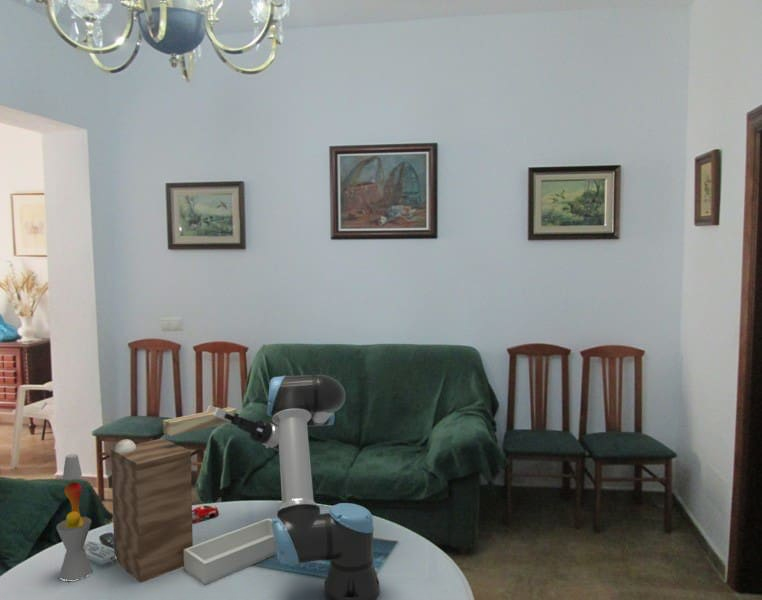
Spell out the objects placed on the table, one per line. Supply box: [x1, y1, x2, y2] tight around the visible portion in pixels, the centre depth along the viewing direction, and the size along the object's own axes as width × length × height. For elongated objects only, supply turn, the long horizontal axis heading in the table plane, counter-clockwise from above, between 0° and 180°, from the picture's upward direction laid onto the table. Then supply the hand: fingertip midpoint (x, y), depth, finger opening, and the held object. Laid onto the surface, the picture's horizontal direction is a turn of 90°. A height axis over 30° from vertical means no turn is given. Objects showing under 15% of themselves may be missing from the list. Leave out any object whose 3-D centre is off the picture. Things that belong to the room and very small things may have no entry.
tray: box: [183, 517, 277, 585], centre depth 183 cm, size 12×30×6 cm, turn 136°
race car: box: [192, 504, 220, 525], centre depth 211 cm, size 13×5×4 cm, turn 128°
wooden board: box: [162, 406, 238, 437], centre depth 190 cm, size 4×23×4 cm, turn 136°
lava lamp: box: [55, 453, 93, 580], centre depth 173 cm, size 9×9×35 cm
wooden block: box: [110, 437, 194, 583], centre depth 180 cm, size 18×16×37 cm
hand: (212, 410), depth 192 cm, fingers closed on wooden board, 4 cm apart
